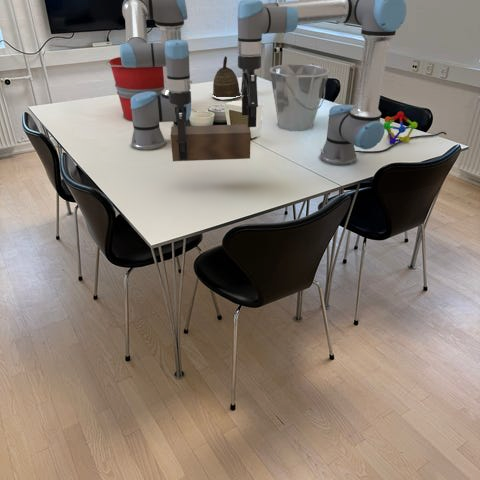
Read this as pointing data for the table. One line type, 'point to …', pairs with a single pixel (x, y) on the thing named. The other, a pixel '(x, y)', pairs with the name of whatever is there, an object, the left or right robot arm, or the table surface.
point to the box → (213, 142)
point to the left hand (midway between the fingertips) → (183, 154)
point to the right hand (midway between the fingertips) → (248, 120)
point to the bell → (225, 82)
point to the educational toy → (398, 128)
